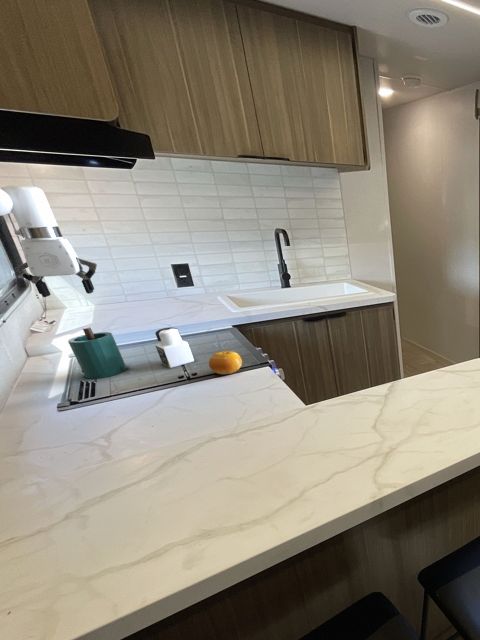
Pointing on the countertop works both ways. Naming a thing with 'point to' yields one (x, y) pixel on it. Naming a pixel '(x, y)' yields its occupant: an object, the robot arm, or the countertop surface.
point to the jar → (97, 355)
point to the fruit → (225, 362)
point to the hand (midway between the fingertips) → (69, 294)
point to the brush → (89, 333)
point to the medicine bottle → (172, 348)
